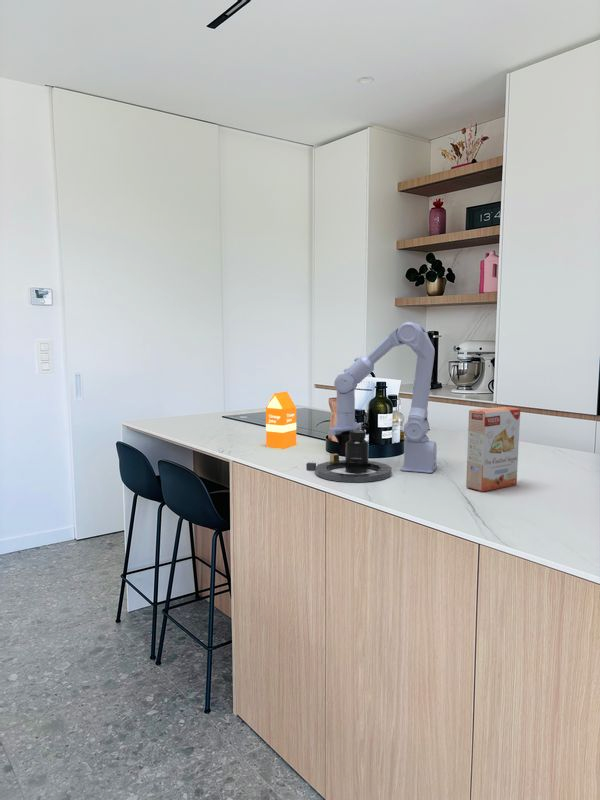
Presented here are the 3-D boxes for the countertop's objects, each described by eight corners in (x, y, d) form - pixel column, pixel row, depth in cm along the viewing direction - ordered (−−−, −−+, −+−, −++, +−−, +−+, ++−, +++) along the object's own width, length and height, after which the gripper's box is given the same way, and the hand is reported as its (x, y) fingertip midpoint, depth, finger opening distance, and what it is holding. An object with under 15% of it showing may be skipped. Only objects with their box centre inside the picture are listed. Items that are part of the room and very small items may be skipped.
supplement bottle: (353, 474, 170) (353, 433, 168) (341, 470, 176) (341, 430, 174) (372, 472, 173) (373, 432, 171) (360, 467, 179) (360, 428, 177)
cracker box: (483, 493, 149) (485, 411, 146) (465, 488, 154) (467, 409, 151) (518, 485, 156) (521, 407, 154) (500, 480, 161) (502, 405, 159)
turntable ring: (407, 475, 167) (407, 461, 167) (345, 485, 156) (345, 471, 155) (359, 461, 186) (359, 449, 186) (301, 470, 174) (301, 457, 174)
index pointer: (316, 469, 176) (316, 463, 176) (313, 470, 175) (313, 464, 175) (308, 468, 177) (308, 462, 177) (306, 470, 176) (306, 463, 176)
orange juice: (296, 445, 217) (296, 391, 214) (283, 449, 209) (282, 393, 207) (279, 443, 221) (278, 391, 219) (265, 447, 213) (265, 392, 211)
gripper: (348, 409, 190) (348, 450, 191) (321, 413, 179) (321, 457, 180) (366, 410, 185) (366, 452, 187) (339, 415, 174) (339, 460, 176)
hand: (345, 455), depth 183 cm, fingers closed
